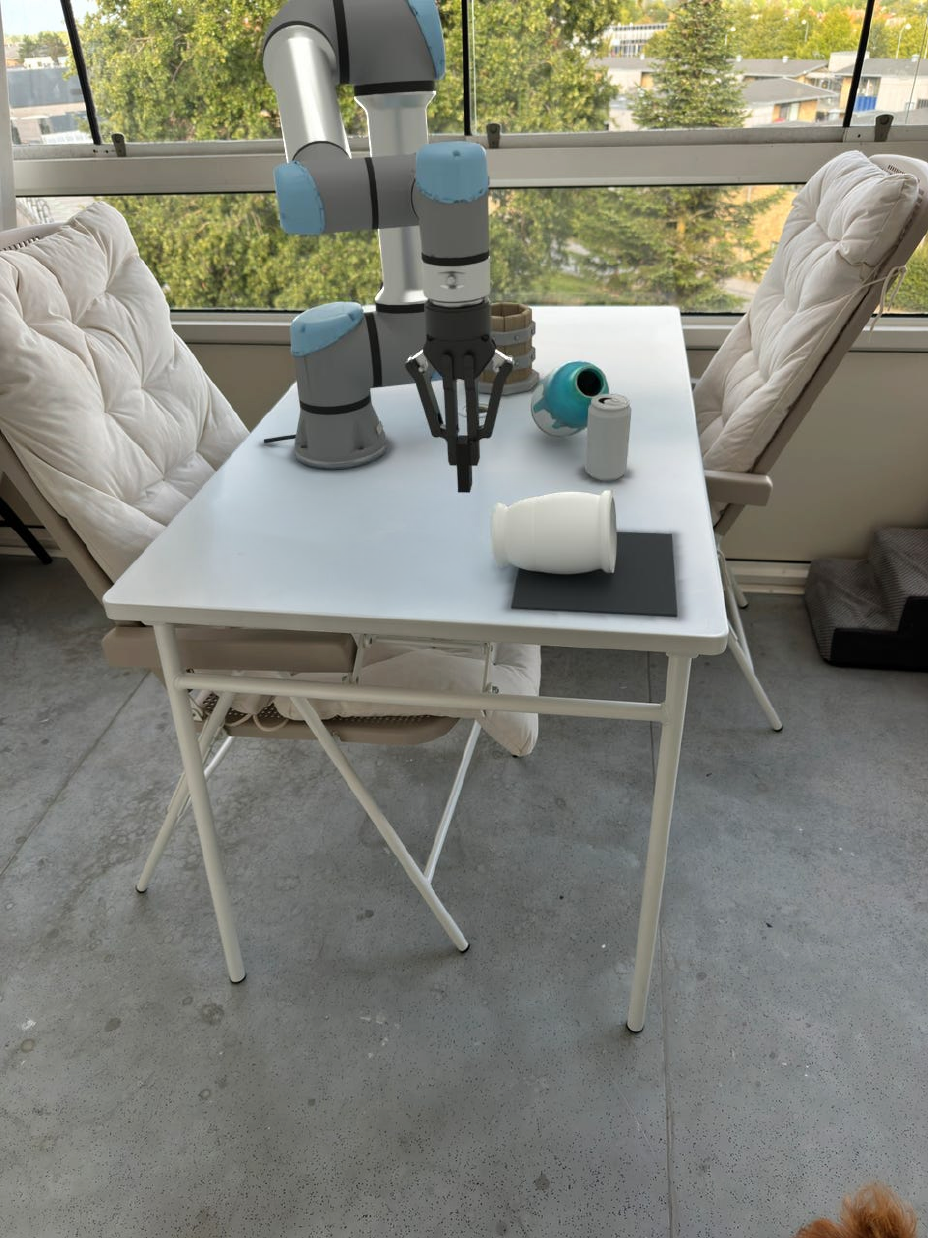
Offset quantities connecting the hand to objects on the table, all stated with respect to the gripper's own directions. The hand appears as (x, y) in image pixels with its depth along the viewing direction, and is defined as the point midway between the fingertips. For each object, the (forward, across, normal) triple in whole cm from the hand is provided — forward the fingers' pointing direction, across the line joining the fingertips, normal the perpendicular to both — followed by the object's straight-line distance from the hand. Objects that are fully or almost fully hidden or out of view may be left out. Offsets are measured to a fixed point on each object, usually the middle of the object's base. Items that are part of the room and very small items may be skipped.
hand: (465, 487), depth 118 cm
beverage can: (+11, +18, +28) cm, 35 cm away
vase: (+9, +8, +46) cm, 48 cm away
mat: (+11, +17, 0) cm, 20 cm away
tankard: (+12, -6, +69) cm, 70 cm away
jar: (+7, +4, 0) cm, 8 cm away
